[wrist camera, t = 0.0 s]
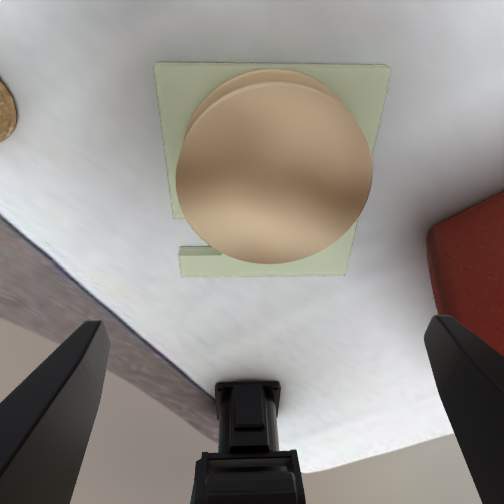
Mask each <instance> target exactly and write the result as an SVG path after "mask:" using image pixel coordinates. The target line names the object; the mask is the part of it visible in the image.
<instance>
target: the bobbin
mask: <svg viewBox="0 0 504 504" xmlns="http://www.w3.org/2000/svg"><path fill="white" fill-rule="evenodd" d="M372 170H373V165H372V158H371V152H370V149H369V145H368V142H367V140H366V138H365V136H364V133H363V131H362V130H361V128H360V127H359V125H358V124H357V122H356V121H355V120H354V118H353V117H352V115H351V114H350V113H349V112H348V111H347V109H346V108H345V106H344V105H343V103H342V102H341V101H340V99H339V98H338V97H337V96H336V95H335V94H334V93H333V92H332V90H330V89H329V88H328V87H327V86H325V85H324V84H323V83H322V82H320V81H318V80H316V79H315V78H313V77H311V76H309V75H306V74H304V73H301V72H298V71H294V70H290V69H282V68H263V69H257V70H252V71H247V72H245V73H242V74H239V75H236V76H234V77H232V78H230V79H228V80H227V81H225V82H223V83H222V84H220V85H219V86H218V87H216V88H215V89H214V90H213V91H212V92H210V93H209V94H208V95H207V96H206V97H205V98H204V100H203V101H202V102H201V103H200V105H199V106H198V107H197V109H196V111H195V112H194V114H193V116H192V117H191V120H190V122H189V125H188V127H187V130H186V133H185V137H184V141H183V145H182V147H181V151H180V155H179V158H178V162H177V167H176V177H175V179H176V192H177V197H178V202H179V204H180V207H181V210H182V212H183V214H184V216H185V218H186V220H187V222H188V223H189V225H190V226H191V228H192V229H193V230H194V231H195V233H196V234H197V235H198V236H199V237H200V238H201V239H202V240H203V241H205V242H206V243H207V244H208V245H210V246H211V247H213V248H214V249H216V250H217V251H219V252H221V253H223V254H225V255H227V256H229V257H232V258H235V259H237V260H241V261H245V262H250V263H257V264H281V263H287V262H293V261H297V260H300V259H304V258H306V257H309V256H312V255H314V254H316V253H318V252H320V251H322V250H324V249H325V248H327V247H328V246H330V245H332V244H333V243H334V242H336V241H337V240H338V239H339V238H341V237H342V236H343V235H344V234H345V233H346V232H347V231H348V230H349V229H350V227H351V226H352V225H353V224H354V222H355V221H356V220H357V218H358V217H359V215H360V213H361V212H362V210H363V208H364V206H365V204H366V201H367V199H368V195H369V192H370V189H371V183H372Z"/></svg>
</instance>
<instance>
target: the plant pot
mask: <svg viewBox="0 0 504 504" xmlns="http://www.w3.org/2000/svg"><path fill="white" fill-rule="evenodd" d="M426 244H427V259H428V265H429V272H430V278H431V284H432V289H433V294H434V299H435V303H436V308H437V312H438V315H450V316H452V317H453V318H454V319H456V320H457V321H458V322H460V323H461V324H462V325H464V326H465V327H466V328H467V329H469V330H470V331H471V332H473V333H474V334H475V335H477V336H478V337H479V338H481V339H482V340H483V341H484V342H486V343H487V344H488V345H490V346H491V347H492V348H494V349H495V350H496V351H497V352H499V353H500V354H501V355H503V356H504V191H503V192H501V193H499V194H497V195H495V196H493V197H491V198H489V199H487V200H485V201H483V202H481V203H479V204H477V205H475V206H473V207H471V208H469V209H467V210H465V211H463V212H461V213H459V214H456V215H454V216H452V217H450V218H448V219H446V220H444V221H442V222H440V223H438V224H436V225H435V226H433V227H432V228H431V229H430V230H429V232H428V234H427V238H426Z"/></svg>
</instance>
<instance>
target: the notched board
mask: <svg viewBox="0 0 504 504" xmlns="http://www.w3.org/2000/svg"><path fill="white" fill-rule="evenodd" d="M153 67H154V75H155V82H156V90H157V97H158V105H159V113H160V120H161V128H162V135H163V143H164V150H165V158H166V165H167V173H168V181H169V188H170V196H171V203H172V211H173V218H174V219H186V218H185V216H184V214H183V212H182V210H181V207H180V204H179V202H178V197H177V192H176V179H175V177H176V167H177V162H178V158H179V155H180V151H181V147H182V145H183V141H184V137H185V133H186V130H187V127H188V125H189V122H190V120H191V117H192V116H193V114H194V112H195V111H196V109H197V107H198V106H199V105H200V103H201V102H202V101H203V100H204V98H205V97H206V96H207V95H208V94H209V93H210V92H212V91H213V90H214V89H215V88H216V87H218V86H219V85H220V84H222V83H223V82H225V81H227V80H228V79H230V78H232V77H234V76H236V75H239V74H242V73H245V72H247V71H252V70H257V69H263V68H282V69H290V70H294V71H298V72H301V73H304V74H306V75H309V76H311V77H313V78H315V79H316V80H318V81H320V82H322V83H323V84H324V85H325V86H327V87H328V88H329V89H330V90H332V92H333V93H334V94H335V95H336V96H337V97H338V98H339V99H340V101H341V102H342V103H343V105H344V106H345V108H346V109H347V111H348V112H349V113H350V114H351V115H352V117H353V118H354V120H355V121H356V122H357V124H358V125H359V127H360V128H361V130H362V131H363V133H364V136H365V138H366V140H367V142H368V145H369V149H370V152H371V158H372V154H373V150H374V145H375V141H376V136H377V132H378V128H379V123H380V119H381V114H382V110H383V106H384V101H385V97H386V92H387V88H388V83H389V79H390V75H391V70H392V69H391V68H389V67H388V66H387V65H366V64H277V63H189V62H156V64H155V65H154V66H153ZM357 220H358V218H357ZM357 220H356V221H355V222H354V224H353V225H352V226H351V227H350V229H349V230H348V231H347V232H346V233H345V234H344V235H343V236H342V237H341V238H339V239H338V240H337V241H336V242H334V243H333V244H332V245H330V246H328V247H327V248H325V249H324V250H322V251H320V252H318V253H316V254H314V255H312V256H309V257H306V258H304V259H300V260H297V261H293V262H287V263H281V264H257V263H250V262H245V261H241V260H237V259H235V258H232V257H229V256H227V255H225V254H223V253H221V252H219V251H217V250H216V249H214V248H213V247H180V250H179V255H178V256H179V264H180V271H181V277H256V276H345V273H346V269H347V265H348V260H349V256H350V251H351V247H352V242H353V238H354V234H355V229H356V225H357Z"/></svg>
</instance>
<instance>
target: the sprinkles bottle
mask: <svg viewBox="0 0 504 504" xmlns="http://www.w3.org/2000/svg"><path fill="white" fill-rule="evenodd" d="M15 125H16V110H15V106H14V102H13V99H12V97H11V95H10V94H9V92H8V91H7V90H6V88H5V86H4V85H3V84H2V83H1V82H0V142H1V141H3V140H5V139H6V138H8V137H9V136H10V135H11V134H12V132H13V130H14V127H15Z"/></svg>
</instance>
